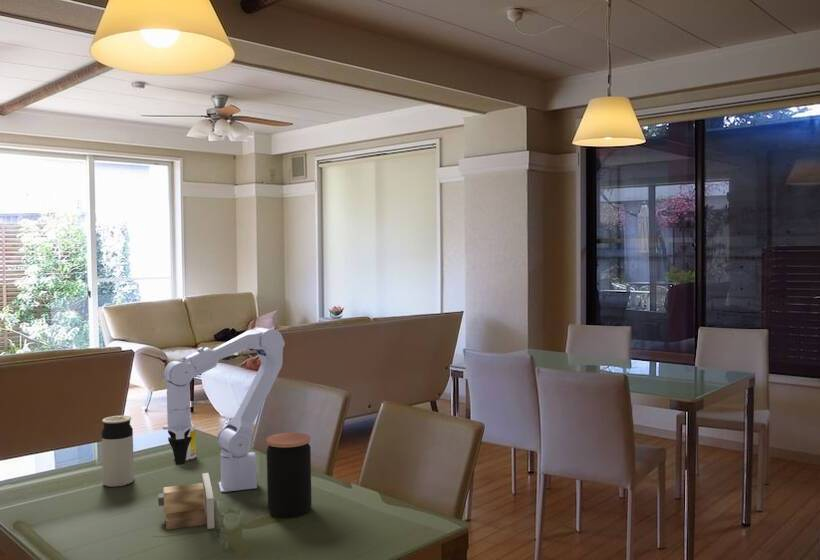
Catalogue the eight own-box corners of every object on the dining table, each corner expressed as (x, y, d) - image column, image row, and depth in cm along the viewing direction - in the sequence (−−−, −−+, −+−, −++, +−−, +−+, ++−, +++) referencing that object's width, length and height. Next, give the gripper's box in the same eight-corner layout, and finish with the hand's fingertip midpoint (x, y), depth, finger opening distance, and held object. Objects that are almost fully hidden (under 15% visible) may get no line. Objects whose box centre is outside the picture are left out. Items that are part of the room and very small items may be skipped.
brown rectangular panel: (203, 504, 181) (203, 496, 181) (207, 524, 168) (206, 515, 168) (165, 508, 178) (165, 500, 178) (166, 529, 165) (166, 520, 165)
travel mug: (115, 489, 193) (113, 423, 192) (96, 484, 197) (94, 419, 196) (140, 481, 200) (138, 417, 199) (122, 476, 204) (120, 413, 203)
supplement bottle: (193, 453, 226) (192, 413, 225) (198, 459, 220) (197, 417, 220) (171, 457, 222) (170, 416, 222) (176, 462, 217) (175, 420, 216)
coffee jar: (319, 505, 179) (318, 434, 178) (299, 520, 169) (297, 445, 168) (281, 500, 183) (280, 431, 182) (259, 515, 173) (257, 441, 172)
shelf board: (209, 499, 184) (208, 472, 184) (214, 528, 165) (213, 498, 165) (203, 500, 184) (202, 473, 183) (207, 528, 165) (207, 498, 164)
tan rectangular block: (202, 502, 176) (202, 482, 176) (203, 509, 172) (203, 488, 172) (158, 508, 173) (158, 487, 173) (158, 514, 169) (158, 493, 168)
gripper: (162, 403, 190) (163, 454, 191) (162, 415, 177) (163, 469, 177) (190, 401, 193) (191, 451, 193) (192, 412, 179) (193, 466, 179)
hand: (180, 460), depth 185 cm, fingers open, 7 cm apart
